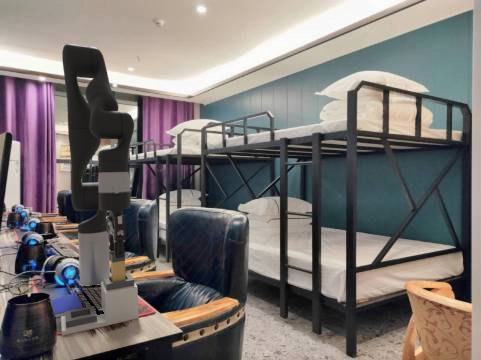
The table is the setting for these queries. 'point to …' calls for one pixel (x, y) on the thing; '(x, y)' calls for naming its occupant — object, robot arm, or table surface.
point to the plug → (117, 268)
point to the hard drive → (65, 304)
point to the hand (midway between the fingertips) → (117, 254)
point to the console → (105, 307)
